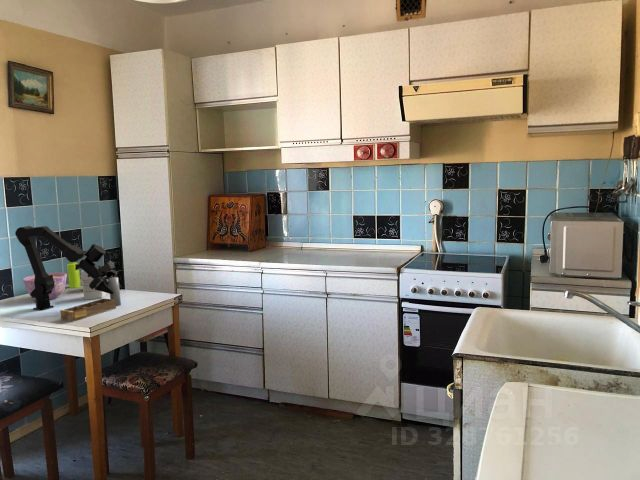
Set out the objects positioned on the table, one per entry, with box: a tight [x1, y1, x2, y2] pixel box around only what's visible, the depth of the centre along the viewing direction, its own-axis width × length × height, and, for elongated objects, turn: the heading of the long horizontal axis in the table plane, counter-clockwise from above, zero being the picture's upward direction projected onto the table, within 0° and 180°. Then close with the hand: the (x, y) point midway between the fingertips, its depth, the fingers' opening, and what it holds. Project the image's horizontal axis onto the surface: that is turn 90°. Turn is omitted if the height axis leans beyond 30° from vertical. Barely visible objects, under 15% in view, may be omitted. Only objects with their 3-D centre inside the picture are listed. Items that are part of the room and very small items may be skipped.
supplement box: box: [80, 269, 107, 301], centre depth 261 cm, size 9×9×15 cm
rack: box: [59, 298, 117, 322], centre depth 229 cm, size 8×22×4 cm, turn 151°
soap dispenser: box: [66, 261, 82, 289], centre depth 291 cm, size 6×7×20 cm
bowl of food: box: [22, 272, 68, 301], centre depth 265 cm, size 20×20×12 cm
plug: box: [108, 276, 122, 307], centre depth 242 cm, size 4×4×13 cm
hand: (117, 291), depth 242 cm, fingers open, 9 cm apart
